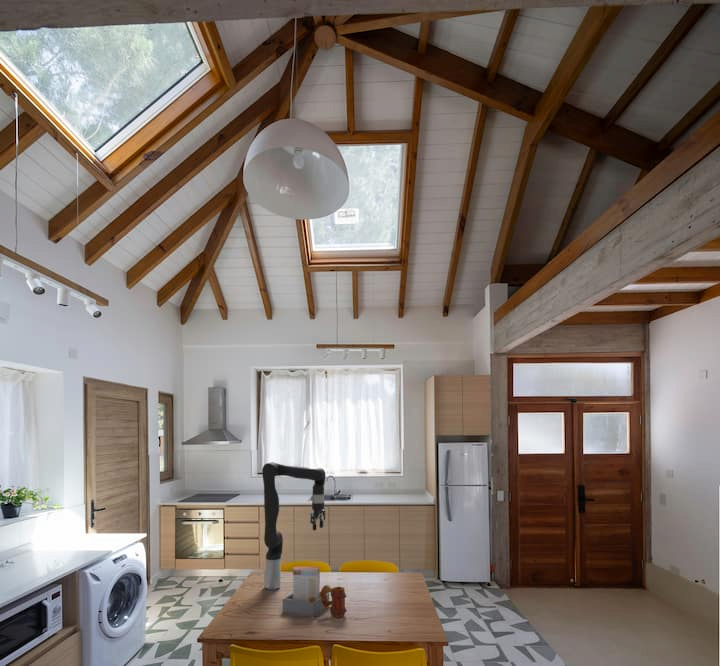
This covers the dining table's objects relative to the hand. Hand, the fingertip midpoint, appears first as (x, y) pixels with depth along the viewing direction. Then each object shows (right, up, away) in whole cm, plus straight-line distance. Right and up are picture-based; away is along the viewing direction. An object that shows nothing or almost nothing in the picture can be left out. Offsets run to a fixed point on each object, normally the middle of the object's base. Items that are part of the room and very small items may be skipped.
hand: (317, 528), depth 343 cm
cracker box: (-4, -31, -36) cm, 47 cm away
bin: (-4, -32, -36) cm, 48 cm away
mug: (+12, -30, -45) cm, 56 cm away
